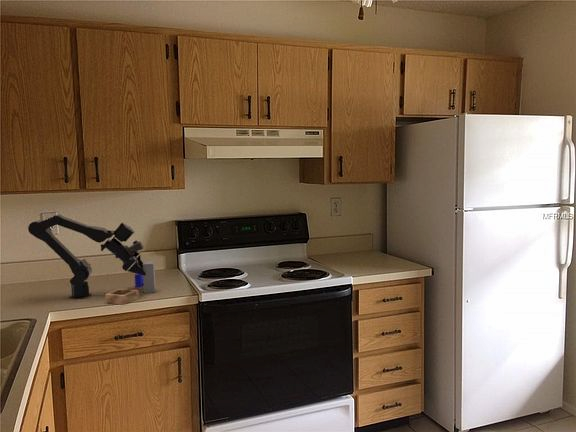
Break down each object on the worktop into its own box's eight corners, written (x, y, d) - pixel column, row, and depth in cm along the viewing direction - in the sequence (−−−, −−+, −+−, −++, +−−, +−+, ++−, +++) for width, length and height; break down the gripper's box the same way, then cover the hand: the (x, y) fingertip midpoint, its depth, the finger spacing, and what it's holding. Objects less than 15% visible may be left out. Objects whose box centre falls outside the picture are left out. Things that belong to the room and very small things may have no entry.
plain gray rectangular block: (144, 293, 210) (142, 264, 209) (145, 290, 214) (143, 262, 213) (154, 292, 211) (153, 263, 209) (155, 289, 215) (154, 261, 214)
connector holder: (105, 302, 197) (104, 294, 196) (120, 296, 206) (119, 288, 205) (124, 304, 194) (123, 296, 193) (138, 298, 202) (138, 290, 202)
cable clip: (144, 280, 233) (143, 268, 233) (153, 280, 233) (152, 268, 232) (132, 287, 222) (131, 274, 221) (141, 287, 221) (140, 274, 220)
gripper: (128, 239, 199) (157, 263, 203) (133, 232, 218) (160, 255, 221) (110, 259, 199) (139, 282, 202) (116, 251, 217) (143, 272, 220)
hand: (146, 272), depth 211 cm, fingers open, 9 cm apart
